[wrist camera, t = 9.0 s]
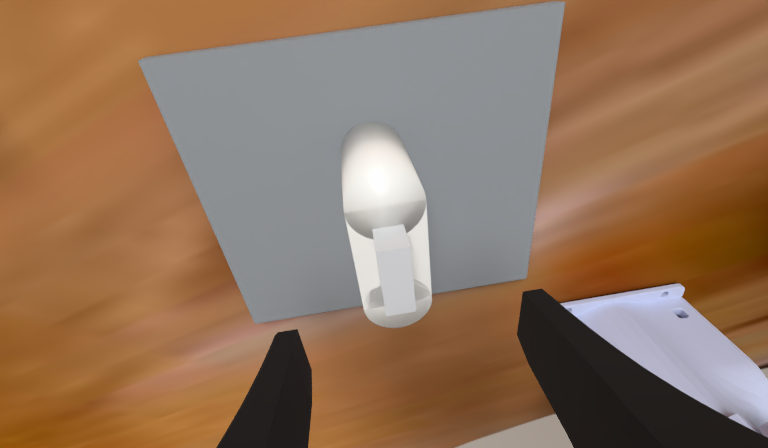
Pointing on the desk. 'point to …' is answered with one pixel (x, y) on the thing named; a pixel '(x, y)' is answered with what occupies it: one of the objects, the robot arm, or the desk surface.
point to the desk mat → (338, 116)
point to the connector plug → (386, 225)
